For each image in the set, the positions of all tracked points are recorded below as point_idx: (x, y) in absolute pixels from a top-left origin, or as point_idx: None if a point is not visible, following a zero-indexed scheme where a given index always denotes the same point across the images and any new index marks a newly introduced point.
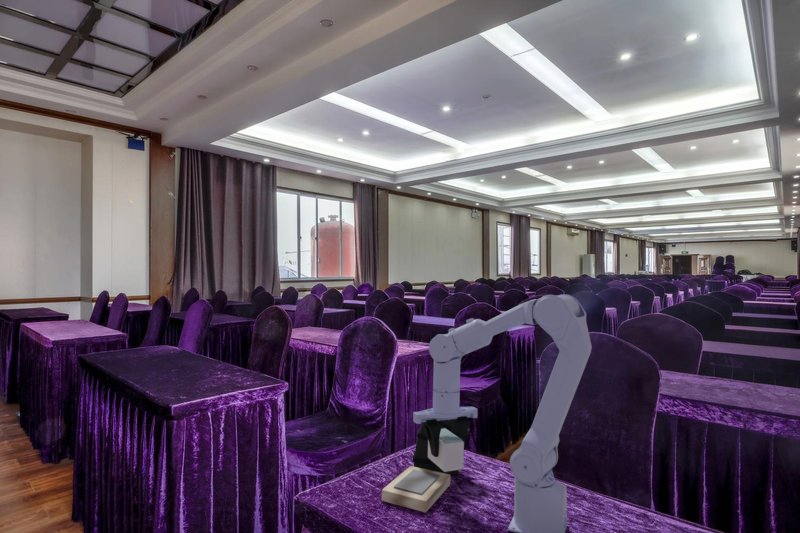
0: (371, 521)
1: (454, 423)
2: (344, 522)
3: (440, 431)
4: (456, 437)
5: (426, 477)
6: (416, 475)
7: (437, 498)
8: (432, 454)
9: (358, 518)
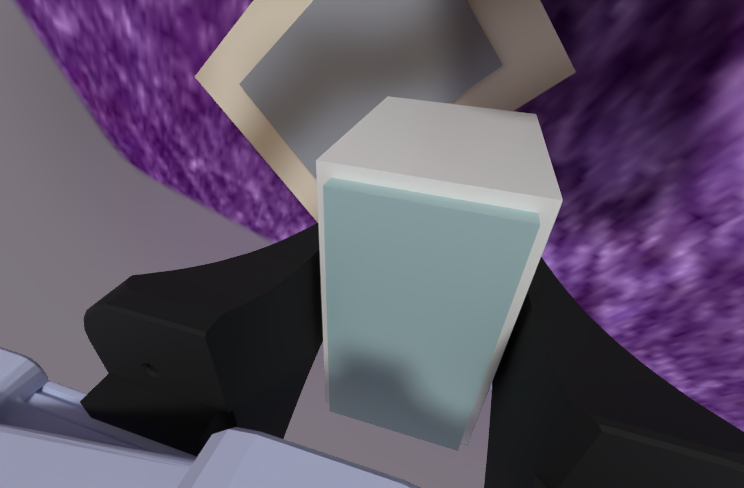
0: (183, 174)
1: (519, 455)
2: (117, 144)
3: (284, 433)
4: (449, 416)
5: (415, 61)
6: (377, 10)
7: None
8: None
9: (150, 143)
